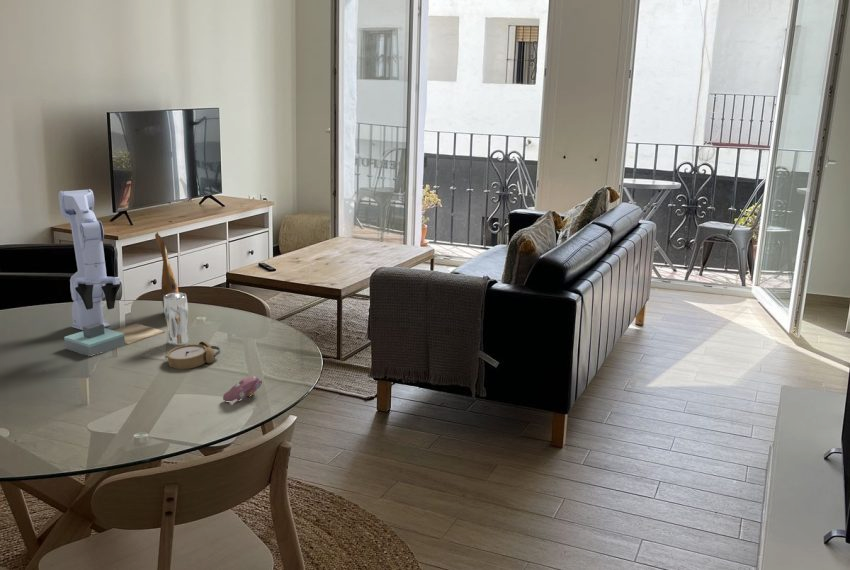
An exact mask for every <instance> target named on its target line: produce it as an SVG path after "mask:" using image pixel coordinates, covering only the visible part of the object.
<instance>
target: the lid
mask: <svg viewBox="0 0 850 570" xmlns="http://www.w3.org/2000/svg"><path fill="white" fill-rule="evenodd" d="M123 336H124V333H120V332H117V331H113V329H110V328H107V327H104V324H100V323H94V324H91V325H88V326H84V327H83V330H81V331H79V332H78V331H77V332H76V333H73V334H69V335H66V336H63V339H65V340H68V341H71V342H74V343H77V344H80V345H84V346H87V347H92V346H95V345H98V344H101V343H105V342H108V341H111V340H114V339H117V338H120V337H123Z"/></svg>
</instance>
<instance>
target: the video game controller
mask: <svg viewBox="0 0 850 570" xmlns="http://www.w3.org/2000/svg"><path fill="white" fill-rule="evenodd" d="M262 385H263V380H261V379H260V378H259V377H256V376H255V375H253V376H252V377H251V376H250V377H249V376H248V377H243V378H242V379H240V380H239V382H238V383H237V382H236V384H235V385H233V386H232V387H231V388H230V389H229V390H228V391H227V392H226V393H224V394H223V396H222V400H223V401H224V400H225V401H232V402H233V401H235V400H237V401H238V400H240V399H243V398H244V399H245V398H246V397H247V396H250V395H251V396H250V397H252V396H253V395H254V394H255V392H256V391H257V390H258V389H259V388H260V387H261V386H262ZM244 399H243V400H244Z"/></svg>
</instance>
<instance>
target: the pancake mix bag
mask: <svg viewBox="0 0 850 570" xmlns="http://www.w3.org/2000/svg"><path fill="white" fill-rule="evenodd" d="M154 236H155V237H154V238H155V241H156V242H157V244H158V247H159V249H160V253H161V257H162V270H161V271H162V273H161V301H162V308H163V310H164V295H166V294H169V293H180V291H179V287H178V284H177V281H176V278H175V276H174V272H173V269H172V267H171V262H169V255H168V251H167V247H166V243H165V241H164V239H163V237H162V236H161V235H160V234H159V232H158V231H157V232H156V233H155V235H154Z"/></svg>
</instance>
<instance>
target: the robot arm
mask: <svg viewBox="0 0 850 570" xmlns="http://www.w3.org/2000/svg"><path fill="white" fill-rule="evenodd" d="M58 205H59V209H60V215H61V218H62V219H65V220H67V221H68V223H69V225H70V228H71V235H72V241H73V247H74V254H75V261H76V267H77V271H76V272H75V273H74V274H72V275H71V276H70V279H69V283H70V285H69V286H70V287H69V288H70V294H71V299H72V301H73V302H72V305H71V315H72V316H71V317H72V324H70V327H71V328H74V329H77V330H81V331H83V327H84V326H88V325H91V324H94V323H100V324H104V328H107V327H109V326H110V323H107V322H105V321H104V315H103V314H104V313H103V306H102V305H103V302H102V301H103V299H104V298H105V301H106V307H107V310H112V309H115V305H116V298H117V294H118V291H119V289H120V287H121V282H120V276H107V267H106V260H105V251H104V250H105V249H104V244H103V243H104V242H103V241H104V240H105V238H104V237H105V232H104V227H103V223H102V221H101V220H98V219H97V217H96V215H95V212H94V209H95V196H94V192H93V190H92V189H90V188H88V189H78V190H77V189H76V190H60V191H59V192H58Z"/></svg>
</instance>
